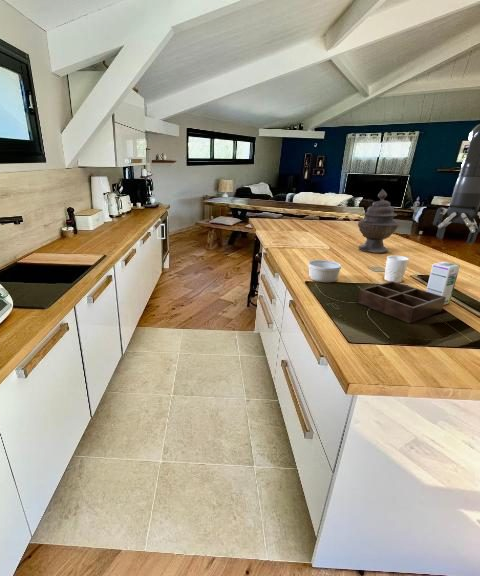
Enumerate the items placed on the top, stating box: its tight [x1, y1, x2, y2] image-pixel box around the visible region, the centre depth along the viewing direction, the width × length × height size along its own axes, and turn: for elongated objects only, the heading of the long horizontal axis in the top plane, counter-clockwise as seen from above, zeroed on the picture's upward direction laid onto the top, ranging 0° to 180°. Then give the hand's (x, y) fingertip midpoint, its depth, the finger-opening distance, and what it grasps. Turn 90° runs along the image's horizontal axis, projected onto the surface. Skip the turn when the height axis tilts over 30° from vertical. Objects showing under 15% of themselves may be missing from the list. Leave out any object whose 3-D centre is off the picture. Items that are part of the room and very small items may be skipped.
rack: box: [357, 281, 446, 324], centre depth 109 cm, size 18×18×5 cm
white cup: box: [383, 254, 410, 283], centre depth 134 cm, size 8×8×10 cm
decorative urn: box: [357, 188, 400, 254], centre depth 178 cm, size 20×20×35 cm
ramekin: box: [307, 259, 342, 283], centre depth 138 cm, size 13×13×7 cm
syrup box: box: [425, 261, 461, 306], centre depth 111 cm, size 6×6×14 cm
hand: (453, 241), depth 106 cm, fingers open, 8 cm apart
